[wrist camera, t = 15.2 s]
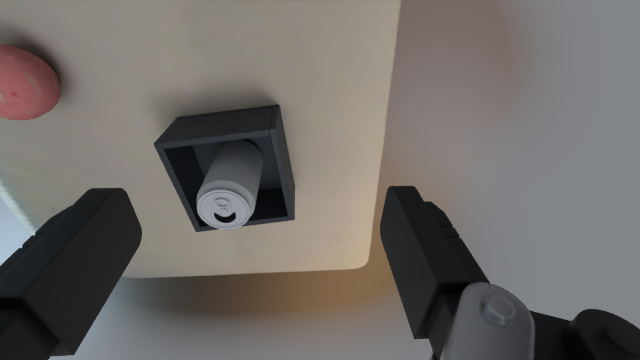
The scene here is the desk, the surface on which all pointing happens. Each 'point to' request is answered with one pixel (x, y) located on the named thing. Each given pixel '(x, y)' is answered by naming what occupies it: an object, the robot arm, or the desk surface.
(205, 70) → the desk surface
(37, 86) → the apple
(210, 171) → the beverage can
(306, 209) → the desk surface
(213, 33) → the desk surface
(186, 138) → the bin
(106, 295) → the robot arm
